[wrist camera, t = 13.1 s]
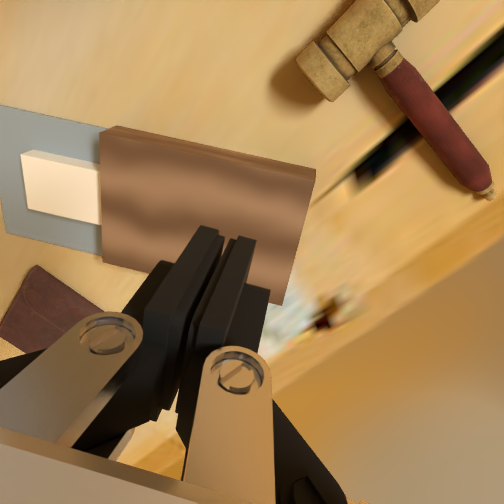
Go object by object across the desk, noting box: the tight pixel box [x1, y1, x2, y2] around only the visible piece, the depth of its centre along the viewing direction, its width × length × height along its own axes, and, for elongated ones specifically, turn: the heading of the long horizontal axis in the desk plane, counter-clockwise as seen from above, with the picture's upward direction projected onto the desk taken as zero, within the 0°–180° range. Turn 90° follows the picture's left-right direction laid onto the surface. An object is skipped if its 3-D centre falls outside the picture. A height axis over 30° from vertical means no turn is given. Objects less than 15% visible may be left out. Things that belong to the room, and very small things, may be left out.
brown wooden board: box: [99, 126, 316, 306], centre depth 39 cm, size 14×20×4 cm
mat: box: [0, 105, 107, 256], centre depth 42 cm, size 15×14×1 cm
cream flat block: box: [20, 150, 102, 225], centre depth 40 cm, size 6×9×2 cm, turn 80°
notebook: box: [0, 265, 104, 354], centre depth 53 cm, size 15×20×2 cm
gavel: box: [296, 0, 497, 201], centre depth 31 cm, size 21×5×10 cm
